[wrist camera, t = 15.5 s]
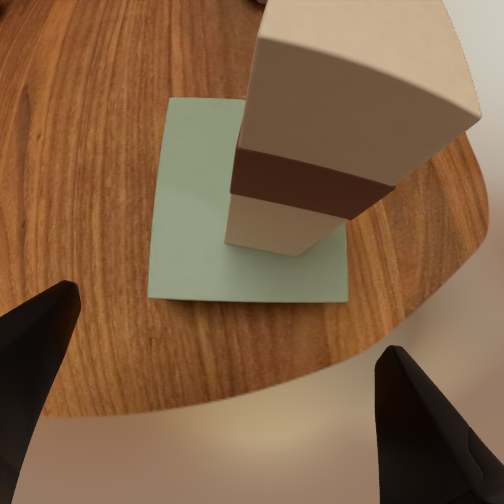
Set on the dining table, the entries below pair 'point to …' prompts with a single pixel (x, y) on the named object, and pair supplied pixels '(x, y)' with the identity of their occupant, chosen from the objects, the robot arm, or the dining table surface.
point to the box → (223, 222)
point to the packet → (341, 114)
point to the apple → (262, 1)
